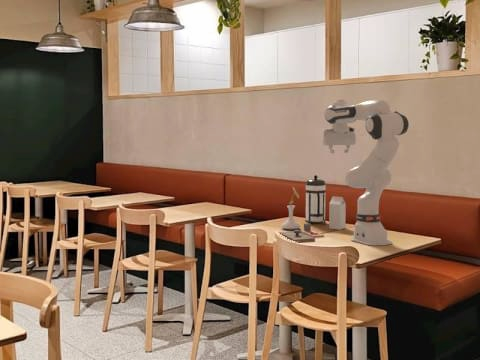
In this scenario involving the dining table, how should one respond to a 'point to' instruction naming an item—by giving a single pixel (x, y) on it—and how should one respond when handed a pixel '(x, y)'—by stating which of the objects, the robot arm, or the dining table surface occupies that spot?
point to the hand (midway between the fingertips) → (339, 153)
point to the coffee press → (315, 200)
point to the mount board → (297, 236)
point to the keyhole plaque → (310, 231)
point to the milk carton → (337, 213)
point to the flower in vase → (291, 216)
